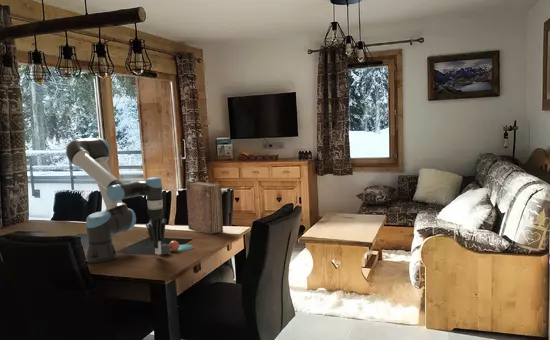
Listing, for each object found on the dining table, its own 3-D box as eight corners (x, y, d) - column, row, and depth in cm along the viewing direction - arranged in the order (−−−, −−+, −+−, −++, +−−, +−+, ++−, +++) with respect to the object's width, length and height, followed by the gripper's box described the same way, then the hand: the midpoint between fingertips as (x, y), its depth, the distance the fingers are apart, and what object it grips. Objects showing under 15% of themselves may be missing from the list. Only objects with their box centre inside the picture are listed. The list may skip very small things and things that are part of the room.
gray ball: (166, 240, 233) (172, 246, 236) (157, 244, 234) (164, 250, 237) (165, 247, 228) (172, 253, 232) (156, 252, 229) (163, 258, 233)
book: (223, 232, 277) (221, 184, 274) (210, 235, 271) (208, 185, 268) (200, 226, 296) (198, 181, 292) (188, 228, 289) (185, 182, 286)
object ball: (171, 249, 234) (173, 239, 236) (165, 249, 238) (168, 239, 240) (179, 252, 237) (182, 241, 239) (174, 252, 241) (176, 242, 243)
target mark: (183, 252, 235) (183, 252, 235) (163, 250, 241) (163, 249, 241) (198, 246, 247) (198, 245, 247) (179, 244, 253) (179, 243, 253)
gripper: (152, 211, 218) (155, 258, 220) (169, 206, 229) (172, 251, 232) (140, 210, 221) (143, 256, 224) (158, 205, 233) (161, 249, 235)
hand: (158, 253), depth 228 cm, fingers closed
